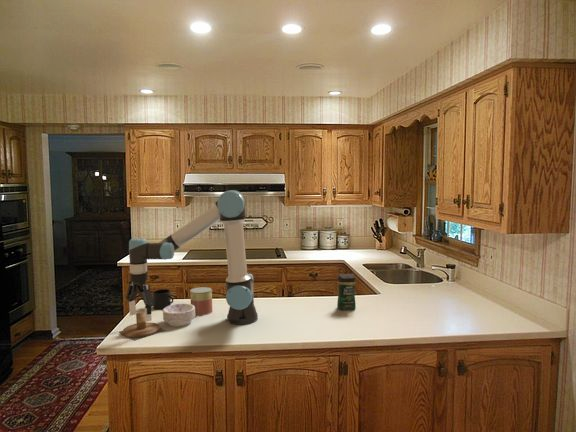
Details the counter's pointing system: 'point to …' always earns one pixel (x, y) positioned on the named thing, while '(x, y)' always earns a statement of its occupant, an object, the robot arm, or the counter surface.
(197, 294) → the canned food
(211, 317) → the counter surface
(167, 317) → the speckled bowl
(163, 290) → the mug
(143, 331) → the lid
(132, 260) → the robot arm
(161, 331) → the mat
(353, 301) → the coffee jar
